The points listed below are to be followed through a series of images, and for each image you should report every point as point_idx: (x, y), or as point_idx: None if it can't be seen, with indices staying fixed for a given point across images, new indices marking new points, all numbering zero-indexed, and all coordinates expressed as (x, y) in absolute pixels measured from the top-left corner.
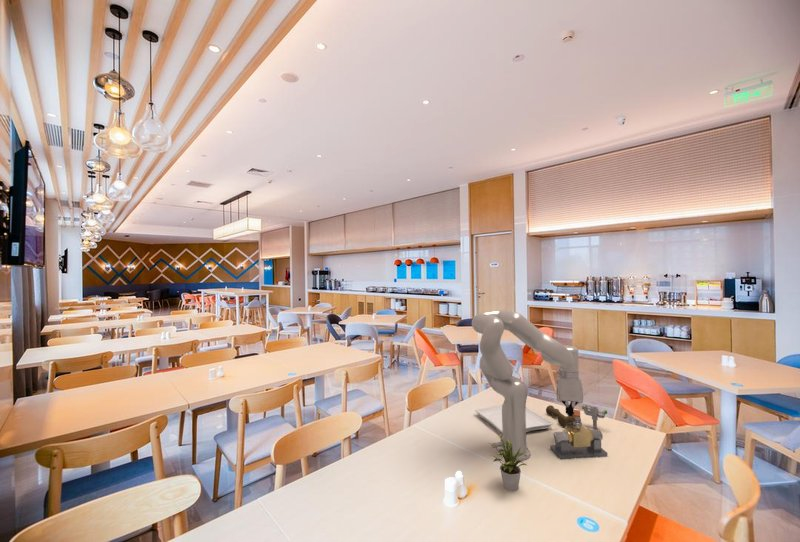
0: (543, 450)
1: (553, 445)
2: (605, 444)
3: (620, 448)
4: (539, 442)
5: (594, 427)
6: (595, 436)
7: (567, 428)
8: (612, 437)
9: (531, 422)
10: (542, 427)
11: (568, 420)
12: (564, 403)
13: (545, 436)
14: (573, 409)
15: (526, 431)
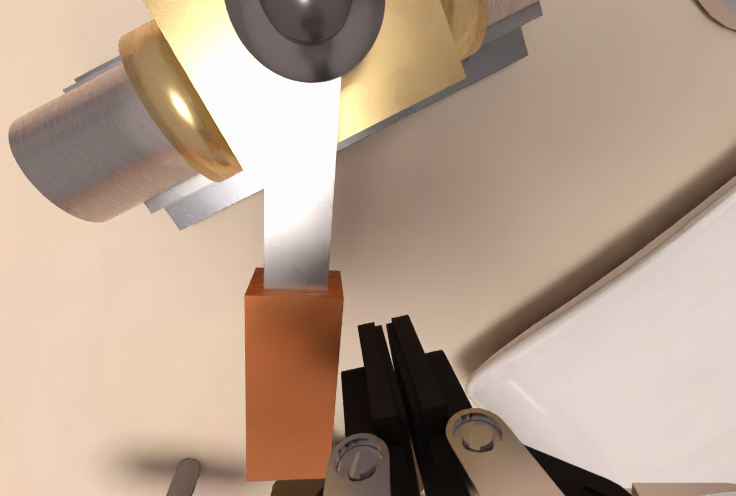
0: (565, 17)
1: (500, 66)
2: (116, 277)
3: (7, 254)
4: (569, 143)
5: (188, 469)
6: (103, 73)
7: (444, 26)
8: (74, 394)
9: (574, 393)
10: (534, 327)
11: None
12: (554, 476)
13: (513, 249)
14: (348, 418)
15: (642, 248)
